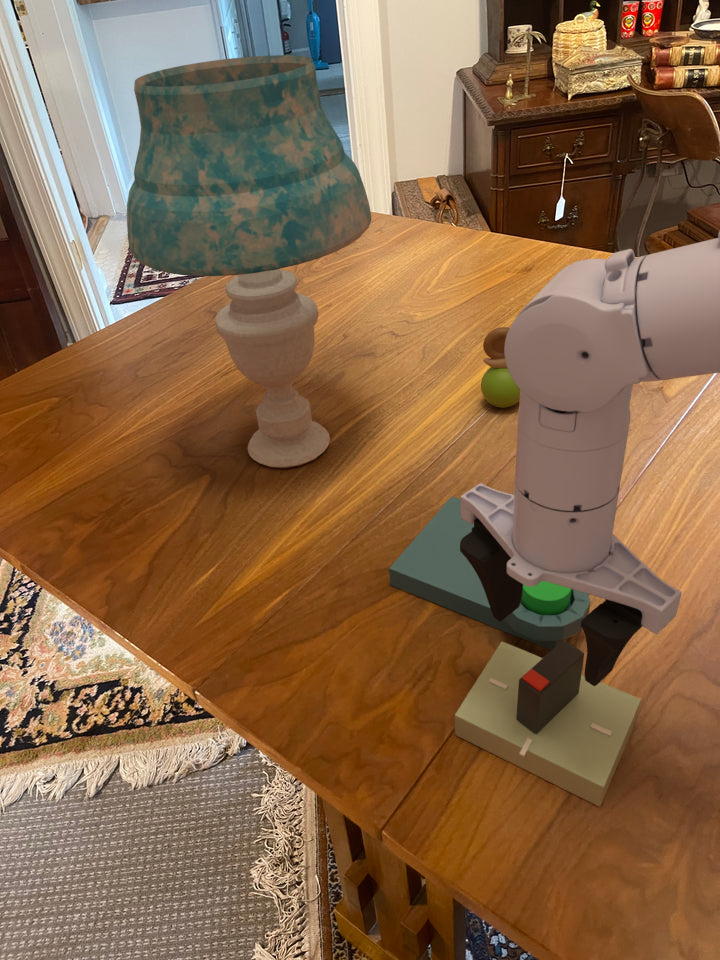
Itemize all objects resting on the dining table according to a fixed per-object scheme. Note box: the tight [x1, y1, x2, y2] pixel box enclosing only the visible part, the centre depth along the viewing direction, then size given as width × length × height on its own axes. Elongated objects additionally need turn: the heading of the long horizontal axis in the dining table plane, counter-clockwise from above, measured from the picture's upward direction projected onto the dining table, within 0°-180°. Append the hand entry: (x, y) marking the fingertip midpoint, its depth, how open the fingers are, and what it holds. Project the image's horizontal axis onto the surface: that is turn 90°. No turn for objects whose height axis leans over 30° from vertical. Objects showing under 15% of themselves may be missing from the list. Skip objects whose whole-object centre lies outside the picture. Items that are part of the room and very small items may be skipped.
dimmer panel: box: [454, 641, 642, 807], centre depth 54 cm, size 11×9×3 cm
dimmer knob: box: [516, 639, 585, 734], centre depth 52 cm, size 5×2×5 cm, turn 131°
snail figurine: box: [480, 326, 520, 409], centre depth 88 cm, size 5×6×12 cm
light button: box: [521, 581, 572, 615], centre depth 60 cm, size 4×4×2 cm
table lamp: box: [126, 54, 372, 469], centre depth 76 cm, size 24×24×40 cm
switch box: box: [388, 495, 591, 651], centre depth 66 cm, size 18×13×4 cm
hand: (550, 641), depth 49 cm, fingers open, 7 cm apart
